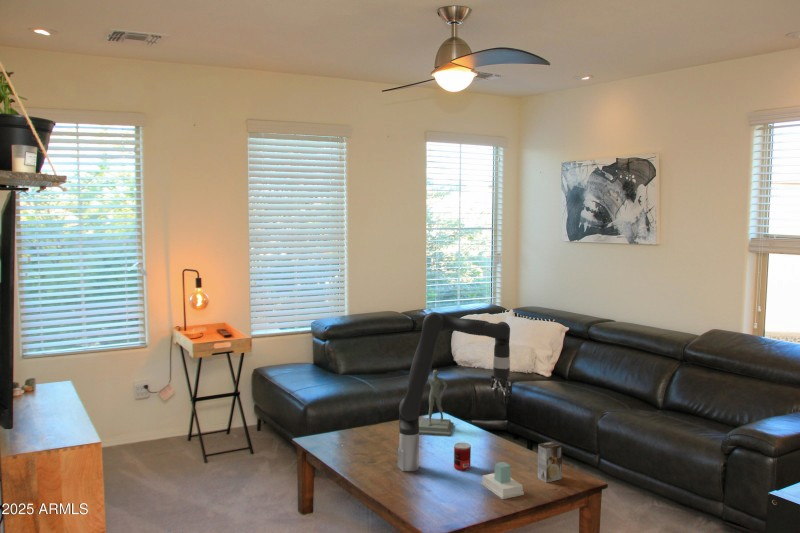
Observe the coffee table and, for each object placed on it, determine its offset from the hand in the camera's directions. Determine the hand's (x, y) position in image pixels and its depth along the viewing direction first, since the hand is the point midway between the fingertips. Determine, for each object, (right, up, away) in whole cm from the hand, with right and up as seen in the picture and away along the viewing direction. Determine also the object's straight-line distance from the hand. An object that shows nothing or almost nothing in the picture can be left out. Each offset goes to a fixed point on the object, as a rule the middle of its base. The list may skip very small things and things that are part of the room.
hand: (500, 400), depth 304 cm
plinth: (-2, -36, -15) cm, 39 cm away
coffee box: (+22, -35, -3) cm, 41 cm away
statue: (-28, -29, +63) cm, 75 cm away
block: (-2, -32, -15) cm, 35 cm away
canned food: (-17, -34, +9) cm, 39 cm away
